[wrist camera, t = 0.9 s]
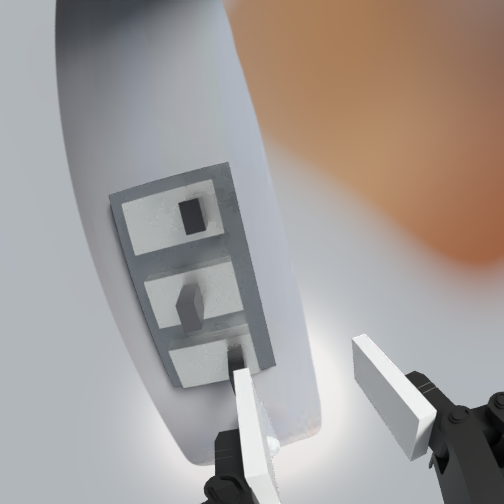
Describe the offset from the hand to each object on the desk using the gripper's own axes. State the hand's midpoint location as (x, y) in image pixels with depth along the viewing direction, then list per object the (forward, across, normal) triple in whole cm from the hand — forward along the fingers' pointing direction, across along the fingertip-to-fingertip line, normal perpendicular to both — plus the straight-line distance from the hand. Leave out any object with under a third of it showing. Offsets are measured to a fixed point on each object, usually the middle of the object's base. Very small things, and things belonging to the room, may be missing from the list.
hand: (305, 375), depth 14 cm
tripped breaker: (+16, -7, 0) cm, 17 cm away
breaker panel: (+21, -7, 0) cm, 22 cm away
